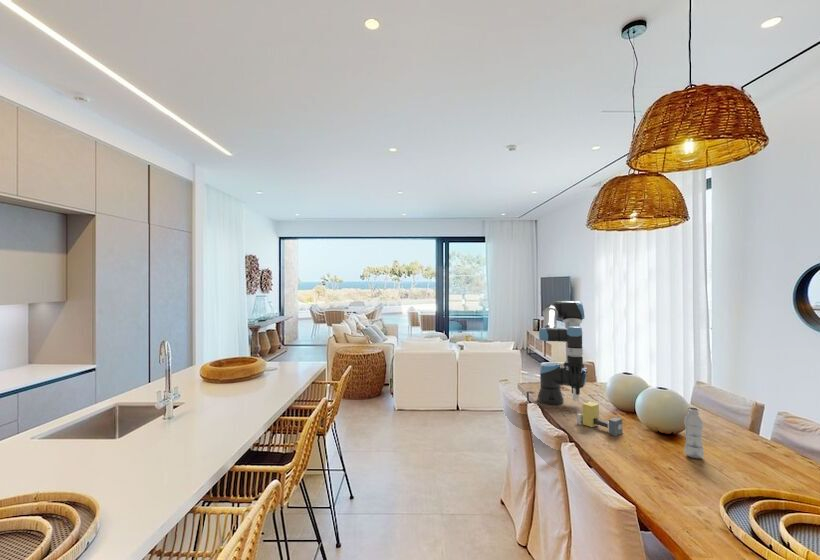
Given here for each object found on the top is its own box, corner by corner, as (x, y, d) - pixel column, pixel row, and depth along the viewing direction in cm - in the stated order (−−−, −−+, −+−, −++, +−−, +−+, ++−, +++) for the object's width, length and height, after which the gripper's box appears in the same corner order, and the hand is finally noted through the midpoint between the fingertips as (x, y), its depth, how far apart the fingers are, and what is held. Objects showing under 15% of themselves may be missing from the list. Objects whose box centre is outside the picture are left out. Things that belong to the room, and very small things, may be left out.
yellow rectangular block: (590, 421, 198) (589, 401, 198) (599, 424, 194) (598, 404, 194) (582, 424, 195) (582, 403, 195) (591, 427, 191) (591, 406, 191)
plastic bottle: (700, 454, 160) (699, 407, 160) (706, 461, 154) (705, 412, 154) (682, 452, 162) (681, 405, 162) (688, 459, 156) (686, 410, 156)
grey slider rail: (585, 421, 201) (585, 407, 201) (624, 433, 183) (624, 419, 183) (577, 423, 197) (576, 410, 197) (616, 437, 180) (615, 422, 180)
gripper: (559, 354, 206) (560, 398, 205) (581, 358, 195) (582, 404, 194) (568, 353, 210) (569, 396, 209) (590, 356, 199) (591, 402, 198)
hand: (575, 400), depth 202 cm, fingers closed
